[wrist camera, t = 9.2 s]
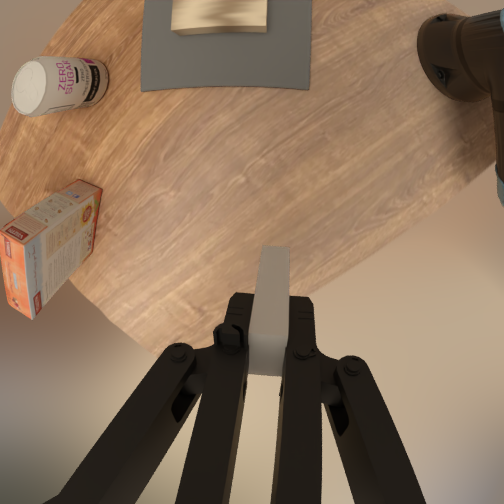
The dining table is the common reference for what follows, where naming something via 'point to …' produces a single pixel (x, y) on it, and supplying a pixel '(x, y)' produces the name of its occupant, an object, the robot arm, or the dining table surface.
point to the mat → (228, 51)
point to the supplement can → (58, 85)
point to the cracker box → (48, 245)
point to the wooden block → (218, 16)
